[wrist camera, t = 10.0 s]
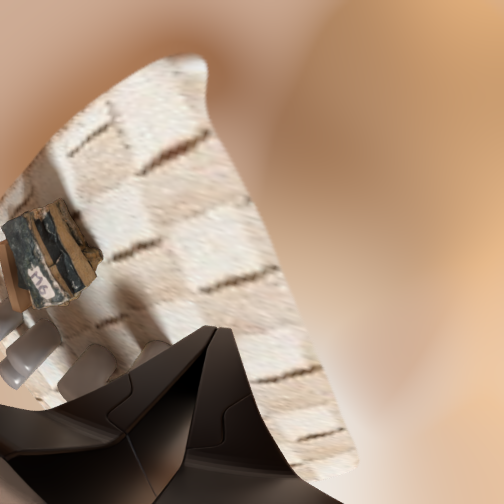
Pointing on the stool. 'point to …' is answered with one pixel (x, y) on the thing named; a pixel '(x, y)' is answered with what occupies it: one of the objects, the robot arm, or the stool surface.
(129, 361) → the stool surface
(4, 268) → the bar
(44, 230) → the rock
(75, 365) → the spacers
